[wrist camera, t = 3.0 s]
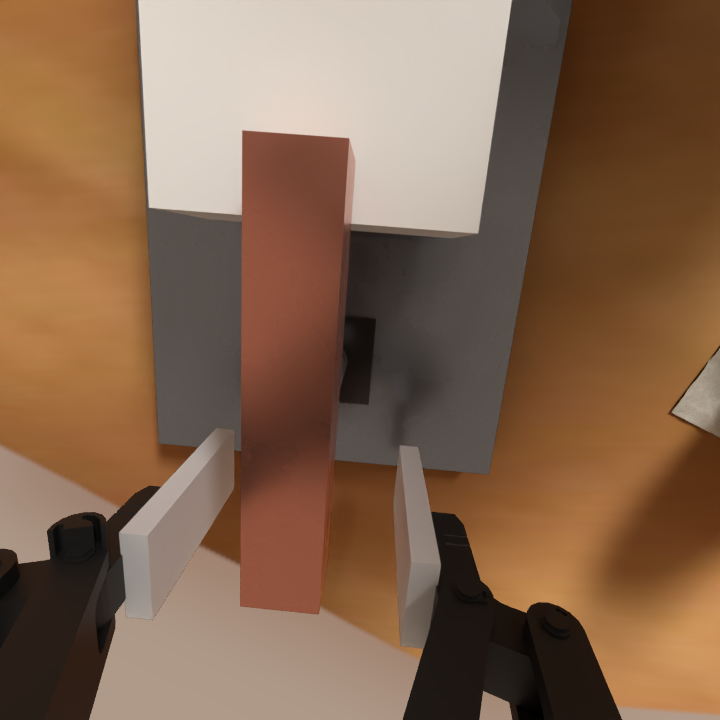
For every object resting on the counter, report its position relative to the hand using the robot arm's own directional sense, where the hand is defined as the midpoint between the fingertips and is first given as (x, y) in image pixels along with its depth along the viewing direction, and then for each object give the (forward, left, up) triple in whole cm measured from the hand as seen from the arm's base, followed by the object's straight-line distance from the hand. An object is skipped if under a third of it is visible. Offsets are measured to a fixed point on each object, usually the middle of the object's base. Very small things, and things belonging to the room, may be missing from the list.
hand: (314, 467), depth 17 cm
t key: (-4, 0, -2) cm, 5 cm away
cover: (-14, 0, -1) cm, 14 cm away
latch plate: (-9, 0, -5) cm, 10 cm away
